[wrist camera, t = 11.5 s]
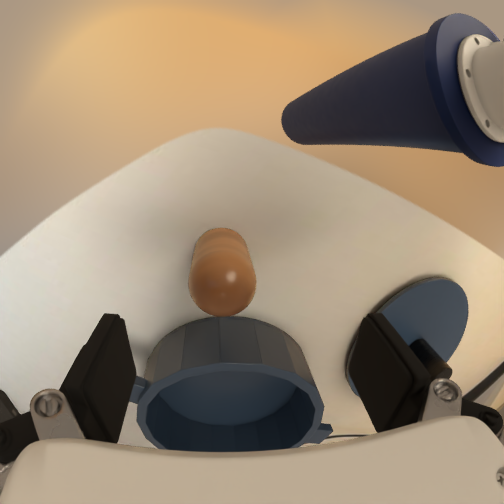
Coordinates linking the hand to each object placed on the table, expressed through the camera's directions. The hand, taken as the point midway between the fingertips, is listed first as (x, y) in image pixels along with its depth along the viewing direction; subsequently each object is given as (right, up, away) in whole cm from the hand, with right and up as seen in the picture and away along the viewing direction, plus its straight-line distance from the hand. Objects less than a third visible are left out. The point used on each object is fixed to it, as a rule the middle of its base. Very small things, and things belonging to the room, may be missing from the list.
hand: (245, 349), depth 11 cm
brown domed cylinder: (-2, +3, +11) cm, 12 cm away
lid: (+18, -7, +17) cm, 25 cm away
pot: (-2, -9, +16) cm, 18 cm away
